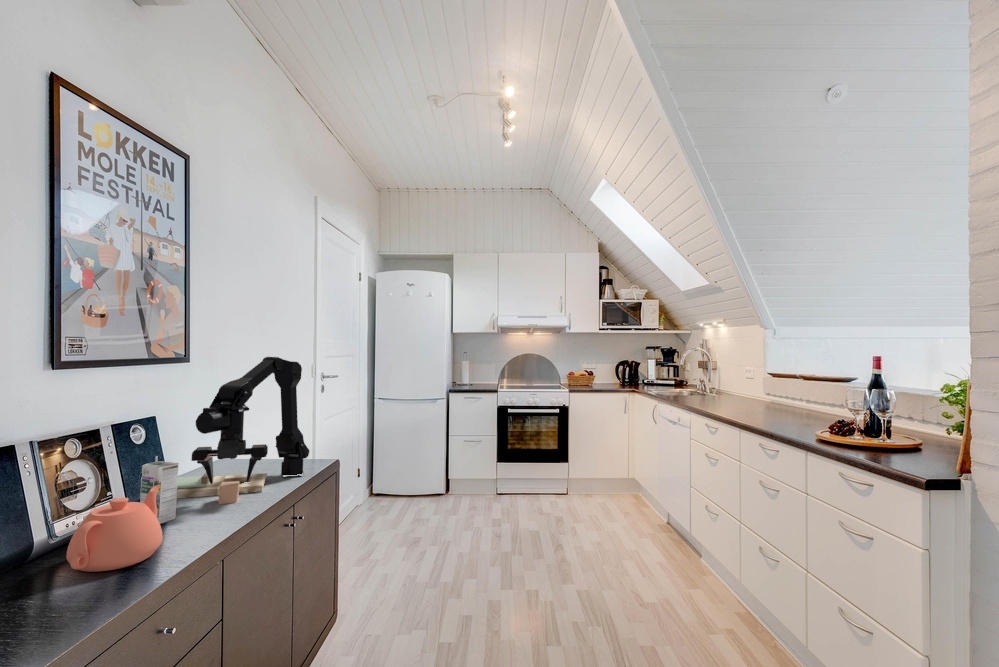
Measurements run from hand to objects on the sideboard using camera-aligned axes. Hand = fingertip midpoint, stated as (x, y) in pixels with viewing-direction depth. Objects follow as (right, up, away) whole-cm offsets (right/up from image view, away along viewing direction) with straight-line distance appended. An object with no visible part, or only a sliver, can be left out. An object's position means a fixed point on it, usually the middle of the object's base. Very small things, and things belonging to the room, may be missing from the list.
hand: (229, 482), depth 140 cm
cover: (-17, -3, +8) cm, 19 cm away
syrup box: (-9, -5, -17) cm, 20 cm away
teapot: (-2, -4, -38) cm, 39 cm away
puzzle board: (-9, -5, +11) cm, 15 cm away
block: (0, -5, 0) cm, 5 cm away
